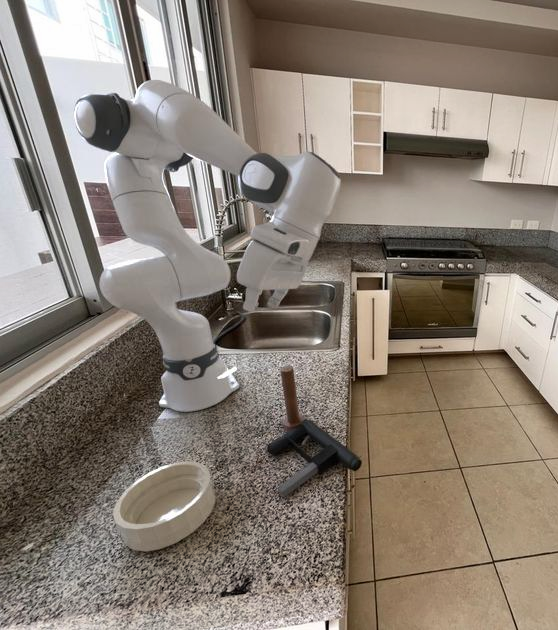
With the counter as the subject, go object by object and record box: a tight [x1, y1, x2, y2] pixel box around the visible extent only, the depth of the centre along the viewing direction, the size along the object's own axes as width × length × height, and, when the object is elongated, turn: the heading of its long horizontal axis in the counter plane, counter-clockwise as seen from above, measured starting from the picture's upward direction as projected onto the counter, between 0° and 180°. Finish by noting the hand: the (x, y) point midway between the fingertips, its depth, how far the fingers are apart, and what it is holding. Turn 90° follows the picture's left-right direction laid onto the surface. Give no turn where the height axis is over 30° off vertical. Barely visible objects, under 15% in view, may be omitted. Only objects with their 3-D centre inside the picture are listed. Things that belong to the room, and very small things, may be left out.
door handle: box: [266, 419, 363, 499], centre depth 73 cm, size 3×20×16 cm
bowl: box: [112, 460, 217, 552], centre depth 60 cm, size 14×14×6 cm
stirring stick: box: [279, 365, 306, 432], centre depth 82 cm, size 5×5×16 cm
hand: (261, 308), depth 65 cm, fingers open, 8 cm apart
